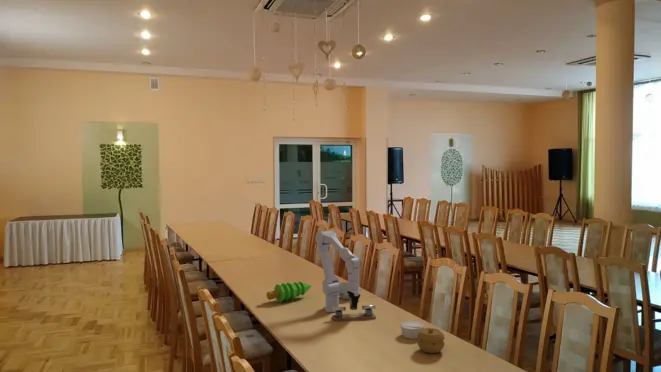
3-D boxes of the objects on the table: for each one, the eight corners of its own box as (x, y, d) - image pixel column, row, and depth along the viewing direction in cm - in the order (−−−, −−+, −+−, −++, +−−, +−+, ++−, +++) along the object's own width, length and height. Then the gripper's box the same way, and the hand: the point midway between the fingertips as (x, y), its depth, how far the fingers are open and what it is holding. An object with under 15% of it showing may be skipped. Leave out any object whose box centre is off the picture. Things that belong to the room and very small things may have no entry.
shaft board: (332, 317, 257) (332, 314, 257) (372, 314, 261) (372, 311, 260) (334, 321, 250) (334, 318, 250) (375, 318, 254) (375, 316, 254)
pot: (440, 345, 217) (440, 323, 216) (447, 356, 205) (448, 332, 205) (414, 346, 216) (414, 324, 216) (420, 356, 205) (420, 333, 204)
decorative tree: (265, 282, 283) (309, 273, 300) (263, 298, 287) (306, 288, 304) (274, 293, 275) (318, 283, 291) (271, 310, 279) (315, 299, 296)
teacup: (340, 302, 284) (340, 288, 283) (332, 296, 295) (332, 283, 295) (363, 298, 290) (363, 285, 289) (354, 293, 301) (354, 280, 301)
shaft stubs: (331, 315, 255) (331, 306, 255) (374, 313, 259) (374, 303, 259) (332, 318, 252) (332, 308, 251) (376, 315, 255) (376, 306, 255)
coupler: (347, 308, 256) (346, 296, 256) (357, 307, 258) (357, 295, 257) (349, 310, 252) (349, 299, 252) (360, 309, 254) (360, 298, 253)
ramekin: (406, 341, 222) (406, 330, 222) (396, 333, 233) (396, 322, 233) (428, 338, 225) (428, 327, 225) (417, 330, 236) (417, 319, 236)
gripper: (364, 283, 248) (364, 309, 248) (358, 276, 262) (358, 301, 263) (350, 284, 247) (350, 310, 247) (345, 277, 261) (345, 302, 262)
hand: (353, 305), depth 255 cm, fingers closed on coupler, 4 cm apart
